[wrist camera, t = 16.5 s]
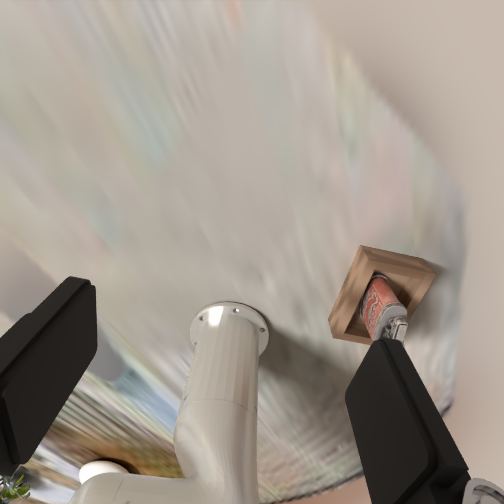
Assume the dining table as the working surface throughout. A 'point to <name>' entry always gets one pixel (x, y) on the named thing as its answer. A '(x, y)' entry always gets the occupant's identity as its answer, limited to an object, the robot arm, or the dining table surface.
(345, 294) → the lighter dock
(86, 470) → the flower in vase
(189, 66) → the dining table surface
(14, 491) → the green leafy plant
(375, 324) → the lighter
